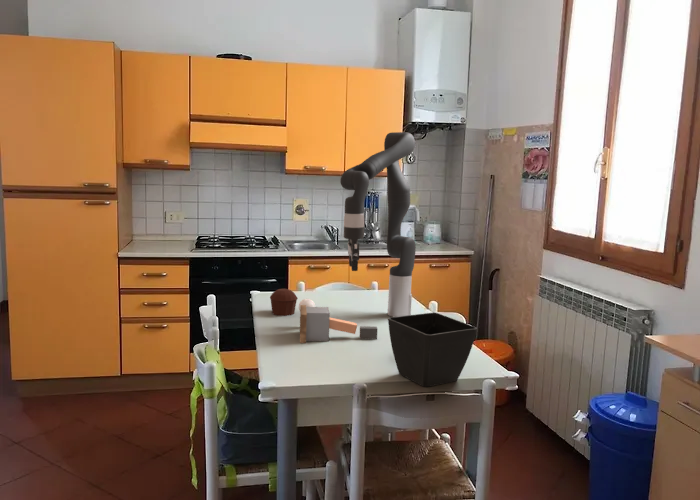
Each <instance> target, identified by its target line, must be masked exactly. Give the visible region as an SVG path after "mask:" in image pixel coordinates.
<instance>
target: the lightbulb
mask: <svg viewBox="0 0 700 500" xmlns="http://www.w3.org/2000/svg"><path fill="white" fill-rule="evenodd" d="M300 305H306V307H316V303H315V302H314V301H313V300H312V299H310V298H303V299H302V300H301V301H299V303H298V310H299V311H300Z"/></svg>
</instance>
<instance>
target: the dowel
mask: <svg viewBox="0 0 700 500" xmlns="http://www.w3.org/2000/svg"><path fill="white" fill-rule="evenodd" d="M357 327H358V324H357V322H353V321H348V320H344V319H339V318H334V317H330V320H329V330H335V331H340V332H344V333H348V334H353V335H356V332H357Z"/></svg>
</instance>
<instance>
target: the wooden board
mask: <svg viewBox="0 0 700 500" xmlns="http://www.w3.org/2000/svg"><path fill="white" fill-rule="evenodd" d="M299 312H300V314H299V343H300V344H306V343H307V341H306V322H307V311H306V305H300V310H299Z"/></svg>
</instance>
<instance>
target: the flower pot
mask: <svg viewBox="0 0 700 500" xmlns="http://www.w3.org/2000/svg"><path fill="white" fill-rule="evenodd" d="M387 322H388V332H389V338H390V343H391V344H390V345H391V349H392V354H393V358H394V362H395V364H396V368H397V372H398V374H399V375H401V376H403V377H405V378H407V379H408V380H410V381H413V382H414V383H416V384H418V385H420V386H422V387H425V388H428V387H434V386H439V385H443V384H448V383H454V382H457V381H458V380H459V378H460V376H461V373H462V372H463V369H464V368H465V366H466V363H467V360H468V358H469V356H470V353H471V351H472V348H473V345H474V342H475V338H476V335H477V331H478V327H476V326H474V325H470V324H468V323H465V322H463V321H461V320H458V319H456V318H452V317H449V316H447V315H443V314H441V313H437V312H427V313H425V312H424V313H418V314H416V313H415V314H411V315H408V316H399V317H391V316H390V317H388V318H387Z"/></svg>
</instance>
